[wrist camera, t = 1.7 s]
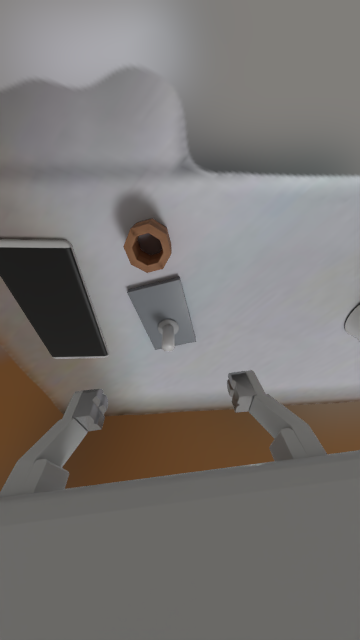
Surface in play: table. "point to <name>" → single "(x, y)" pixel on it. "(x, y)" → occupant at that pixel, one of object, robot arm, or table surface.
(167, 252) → the ring
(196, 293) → the table surface
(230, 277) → the table surface
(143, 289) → the post stand
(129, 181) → the table surface
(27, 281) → the smartphone
